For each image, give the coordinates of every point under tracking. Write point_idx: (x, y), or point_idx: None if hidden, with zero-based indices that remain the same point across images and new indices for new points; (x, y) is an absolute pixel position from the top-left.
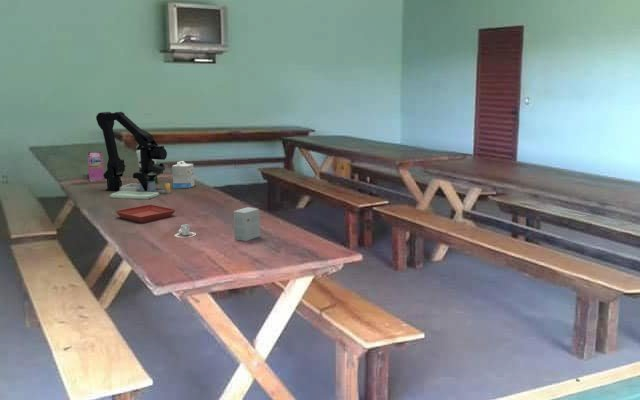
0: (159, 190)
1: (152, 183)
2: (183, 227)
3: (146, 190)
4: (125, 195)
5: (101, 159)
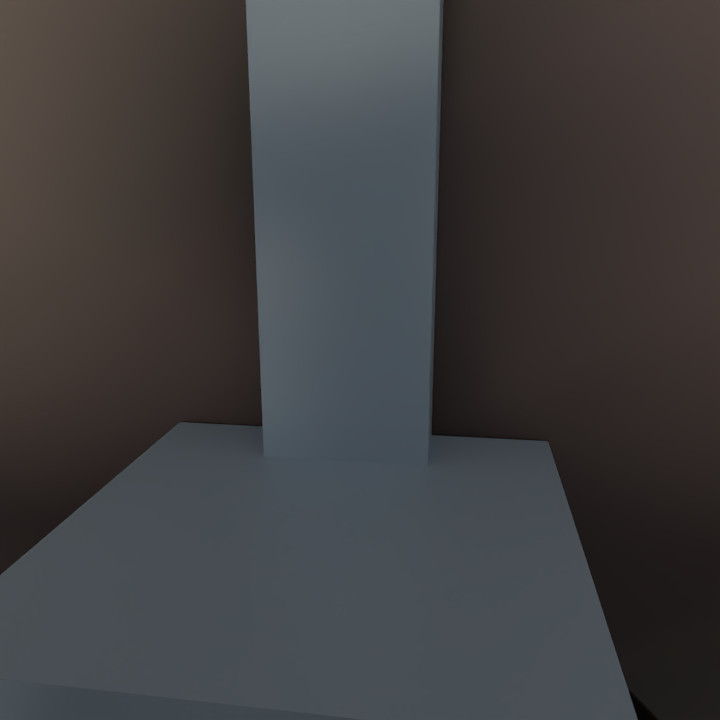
0: (380, 143)
1: (308, 649)
2: None
3: None
4: None
5: None
